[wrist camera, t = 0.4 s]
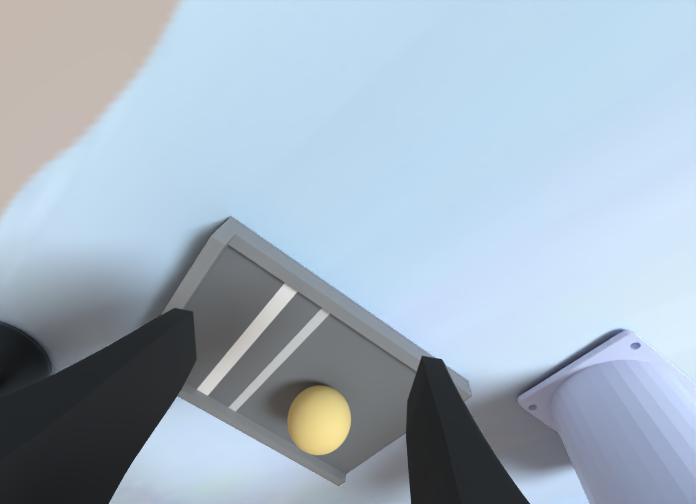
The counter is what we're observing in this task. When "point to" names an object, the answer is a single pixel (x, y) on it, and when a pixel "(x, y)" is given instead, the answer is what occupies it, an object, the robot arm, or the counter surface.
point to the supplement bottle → (20, 360)
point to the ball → (319, 420)
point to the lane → (291, 350)
